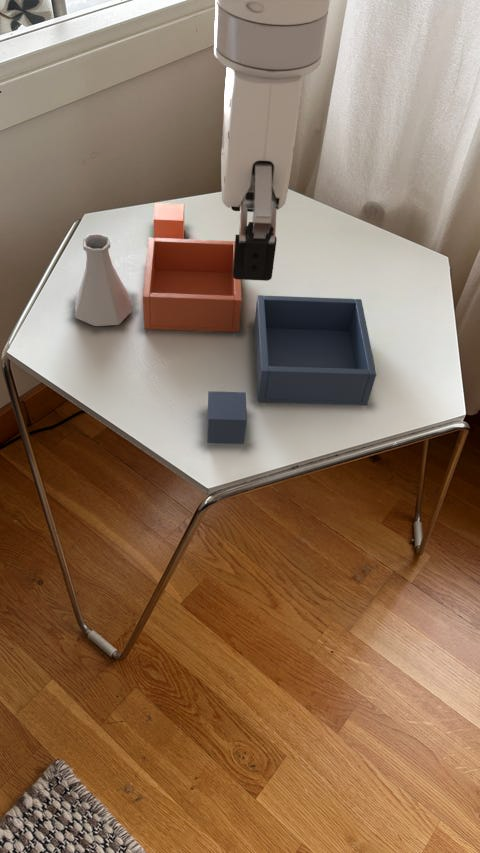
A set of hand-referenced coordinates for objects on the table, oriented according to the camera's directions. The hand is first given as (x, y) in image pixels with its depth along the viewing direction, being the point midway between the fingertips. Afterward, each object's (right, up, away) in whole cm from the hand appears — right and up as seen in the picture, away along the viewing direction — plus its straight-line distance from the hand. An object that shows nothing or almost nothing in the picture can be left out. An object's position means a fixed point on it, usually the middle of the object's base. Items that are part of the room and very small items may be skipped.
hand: (250, 242), depth 62 cm
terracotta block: (-11, +10, +37) cm, 40 cm away
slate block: (-2, -16, +16) cm, 23 cm away
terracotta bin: (-7, 0, +29) cm, 30 cm away
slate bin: (+7, -9, +23) cm, 26 cm away
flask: (-18, -1, +27) cm, 33 cm away
